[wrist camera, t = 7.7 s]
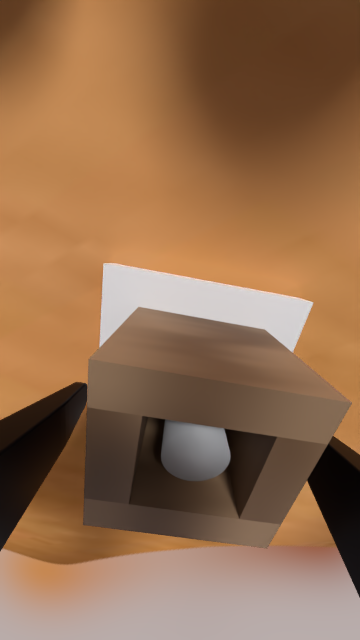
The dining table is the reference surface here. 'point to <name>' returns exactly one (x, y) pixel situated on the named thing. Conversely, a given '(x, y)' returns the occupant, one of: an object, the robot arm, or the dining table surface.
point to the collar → (203, 409)
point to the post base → (203, 302)
